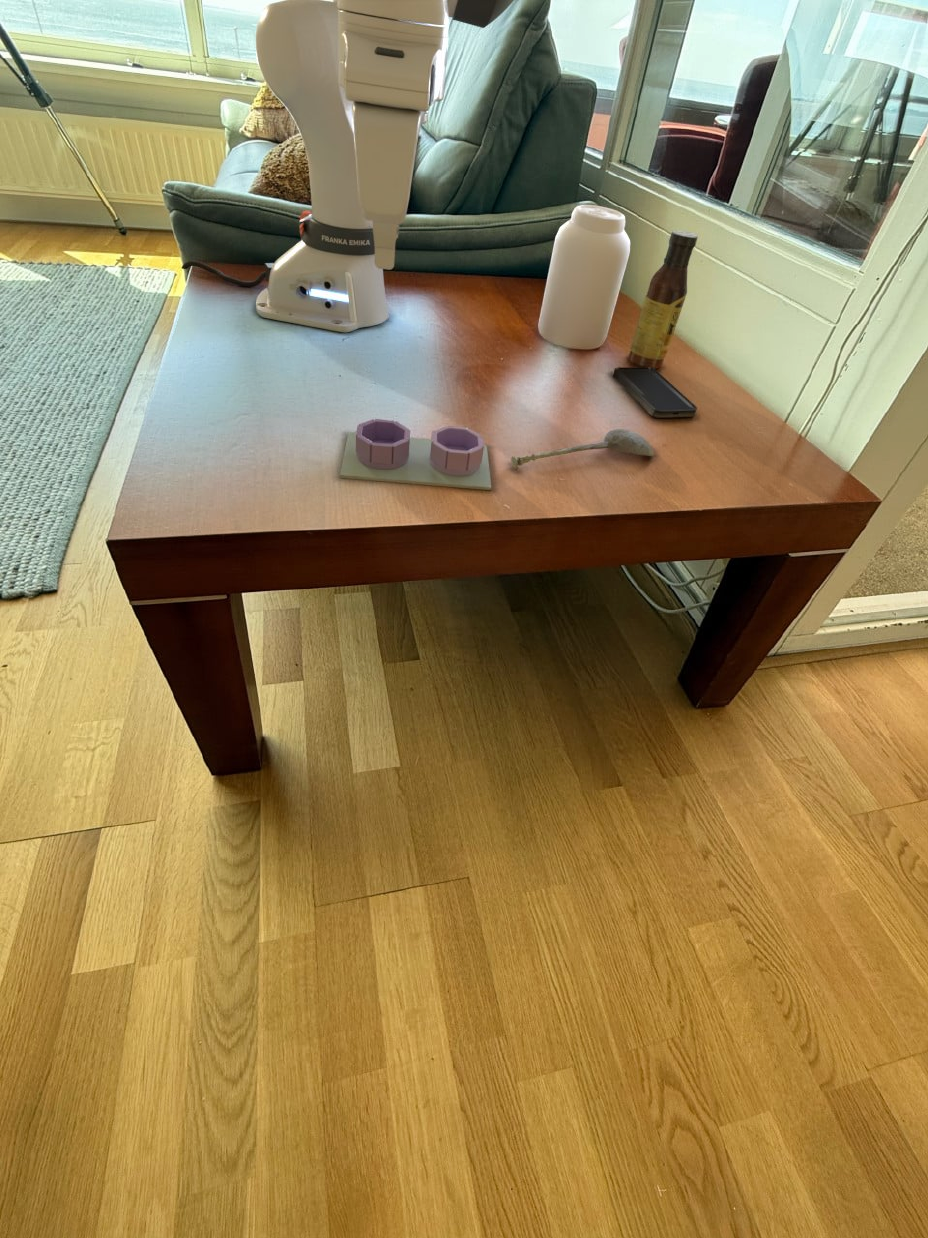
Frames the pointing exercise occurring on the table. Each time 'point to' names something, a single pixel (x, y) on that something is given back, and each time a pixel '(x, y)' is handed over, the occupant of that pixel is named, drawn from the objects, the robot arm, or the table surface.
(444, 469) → the dish right
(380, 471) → the mat
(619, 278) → the white pill bottle
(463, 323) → the table surface
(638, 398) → the phone
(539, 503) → the table surface
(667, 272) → the sauce bottle
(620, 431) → the soupspoon
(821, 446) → the table surface
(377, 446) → the dish left
